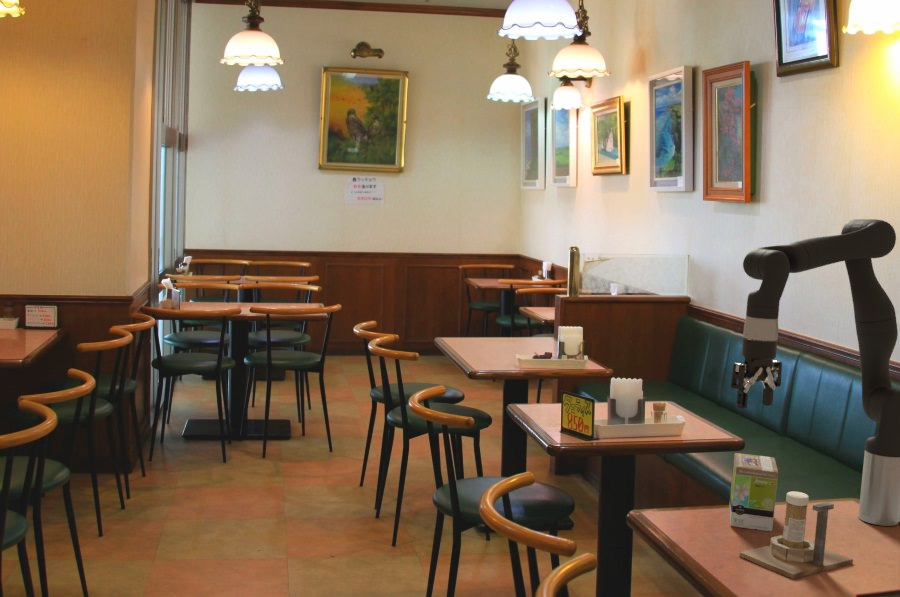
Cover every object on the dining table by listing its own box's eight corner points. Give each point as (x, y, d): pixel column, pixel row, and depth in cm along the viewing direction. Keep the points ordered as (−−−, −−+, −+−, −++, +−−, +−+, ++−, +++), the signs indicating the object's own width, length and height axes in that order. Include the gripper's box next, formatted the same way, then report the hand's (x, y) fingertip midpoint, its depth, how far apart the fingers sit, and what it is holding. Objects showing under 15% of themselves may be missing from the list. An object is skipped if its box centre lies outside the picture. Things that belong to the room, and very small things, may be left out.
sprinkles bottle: (782, 548, 222) (788, 489, 221) (804, 552, 220) (810, 493, 219) (779, 554, 218) (785, 495, 216) (801, 559, 216) (807, 498, 215)
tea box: (773, 532, 236) (779, 471, 235) (729, 527, 239) (734, 466, 237) (770, 513, 251) (775, 455, 249) (728, 508, 253) (733, 451, 252)
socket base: (798, 542, 230) (804, 483, 228) (852, 563, 218) (858, 500, 217) (739, 556, 219) (744, 493, 217) (792, 579, 207) (798, 513, 206)
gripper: (767, 333, 236) (761, 401, 238) (726, 335, 229) (720, 405, 230) (794, 338, 230) (788, 407, 232) (752, 340, 222) (746, 412, 224)
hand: (754, 406), depth 231 cm, fingers open, 8 cm apart
